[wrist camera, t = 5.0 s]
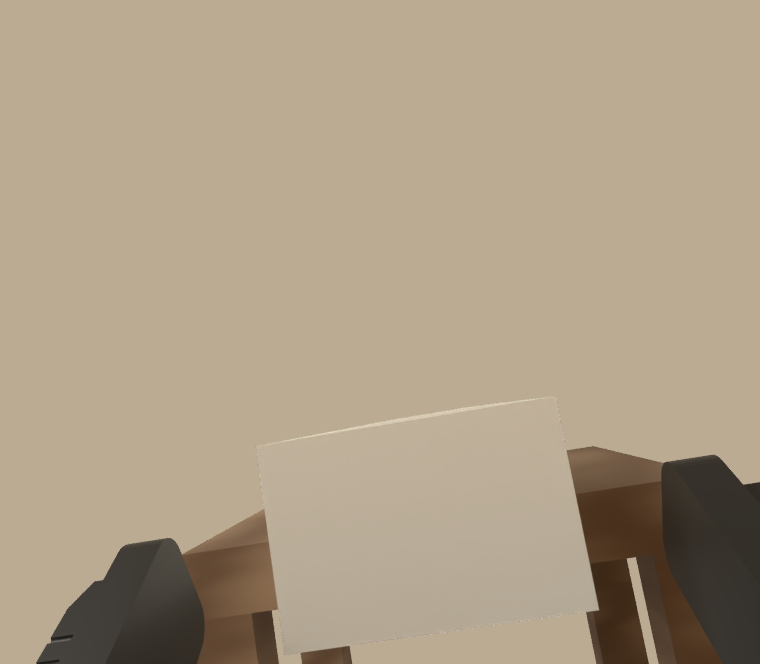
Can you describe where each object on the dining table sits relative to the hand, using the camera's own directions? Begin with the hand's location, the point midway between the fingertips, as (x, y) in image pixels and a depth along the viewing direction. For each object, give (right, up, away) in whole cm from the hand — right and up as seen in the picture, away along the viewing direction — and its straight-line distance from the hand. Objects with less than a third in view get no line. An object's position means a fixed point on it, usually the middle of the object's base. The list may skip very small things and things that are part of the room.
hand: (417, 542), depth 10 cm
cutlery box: (+1, -2, +11) cm, 12 cm away
